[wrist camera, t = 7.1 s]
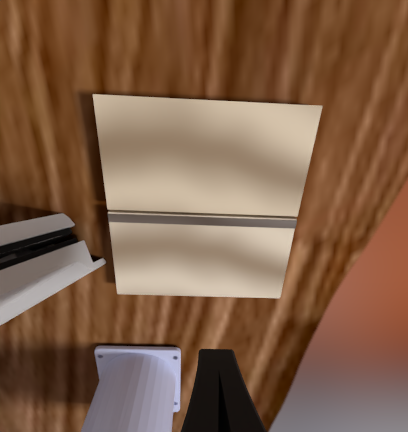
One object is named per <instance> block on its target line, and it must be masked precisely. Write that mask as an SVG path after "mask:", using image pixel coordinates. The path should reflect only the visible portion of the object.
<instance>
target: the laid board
mask: <svg viewBox="0 0 408 432" xmlns="http://www.w3.org/2000/svg"><path fill="white" fill-rule="evenodd" d="M108 222H109V227H110V235H111V244H112V252H113V261H114V270H115V278H116V287H117V294H137V295H175V296H214V297H252V298H280V296H281V291H282V286H283V282H284V277H285V272H286V268H287V263H288V258H289V253H290V249H291V244H292V239H293V235H294V230H295V227H296V223H297V219H296V218H295V216H271V215H244V214H216V213H189V212H162V211H134V210H109V211H108Z"/></svg>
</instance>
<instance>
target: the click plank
mask: <svg viewBox="0 0 408 432" xmlns="http://www.w3.org/2000/svg"><path fill="white" fill-rule="evenodd" d="M93 101H94V109H95V117H96V125H97V132H98V140H99V148H100V156H101V163H102V171H103V179H104V187H105V194H106V202H107V210H134V211H162V212H189V213H216V214H244V215H271V216H298V212H299V207H300V203H301V198H302V194H303V190H304V185H305V181H306V176H307V172H308V168H309V163H310V159H311V154H312V150H313V146H314V141H315V137H316V132H317V128H318V124H319V119H320V115H321V110H322V106H315V105H295V104H275V103H256V102H236V101H217V100H197V99H178V98H158V97H139V96H119V95H100V94H93Z"/></svg>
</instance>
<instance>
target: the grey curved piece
mask: <svg viewBox="0 0 408 432" xmlns="http://www.w3.org/2000/svg"><path fill="white" fill-rule="evenodd" d="M74 225H75V224H74V223H73V222H72V221H71V219H70V218H69V217H67V216H66V215H65V214H63V213H61V214H56V215H51V216H46V217H40V218H35V219H30V220H25V221H20V222H15V223H10V224H5V225H0V325H2V324H4V323H5V322H7V321H9V320H10V319H12V318H14V317H15V316H17V315H19V314H21V313H22V312H24V311H26V310H27V309H29V308H31V307H32V306H34V305H36V304H38V303H39V302H41V301H43V300H44V299H46V298H48V297H49V296H51V295H53V294H55V293H56V292H58V291H60V290H61V289H63V288H65V287H66V286H68V285H70V284H72V283H73V282H75V281H77V280H78V279H80V278H82V277H84V276H85V275H87V274H89V273H90V272H92V271H94V270H95V269H97V268H99V267H101V266H102V265H104V264H106V261H105V259H104V258H102V259H99V260H97V261H95V262H93V261H92V259H91V256H90V254H89V251H88V249H87V246H86V244H85V241H84V240H83V241H80V242H78V241H77V239H76V238H73V239H70V240H67V241H64V242H61V243H58V244H55V243H57V242H58V241H60V240H61V239H63V238H64V237H66V236H68V235H69V234H71V233H72V231H71V229H70V228H71V227H73V226H74Z"/></svg>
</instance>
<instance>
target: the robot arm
mask: <svg viewBox="0 0 408 432" xmlns="http://www.w3.org/2000/svg"><path fill="white" fill-rule="evenodd" d="M94 353H95V358H96V364H97V369H98V375H99V380H100V381H99V384H98V386H97V389H96V392H95V394H94V397H93V400H92V402H91V405H90V408H89V411H88V413H87V416H86V419H85V421H84V424H83V427H82V430H81V432H171V431H172V419H173V412H178V411H179V410H180V370H181V350H180V349H179V348H178V347H144V346H97V347H96V349H95V351H94ZM181 432H267V431H266V429H265V427H264V425H263V423H262V421H261V419H260V417H259V415H258V413H257V411H256V408H255V406H254V404H253V402H252V399H251V397H250V395H249V393H248V390H247V388H246V385H245V383H244V380H243V378H242V375H241V372H240V370H239V367H238V364H237V361H236V358H235V354H234V351H233V350H227V349H201V350H200V351H199V357H198V367H197V373H196V378H195V383H194V387H193V391H192V395H191V399H190V403H189V407H188V410H187V414H186V417H185V420H184V423H183V426H182V430H181Z"/></svg>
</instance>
